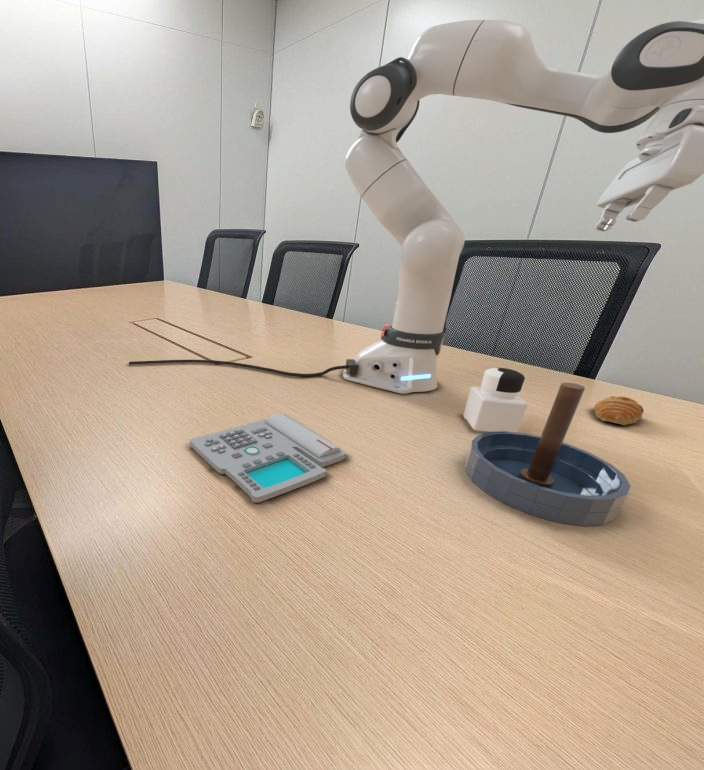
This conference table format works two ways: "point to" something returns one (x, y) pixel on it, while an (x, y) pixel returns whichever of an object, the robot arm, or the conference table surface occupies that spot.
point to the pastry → (619, 410)
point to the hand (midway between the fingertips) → (616, 225)
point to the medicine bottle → (496, 402)
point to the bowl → (570, 472)
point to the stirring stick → (553, 435)
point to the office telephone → (268, 455)
